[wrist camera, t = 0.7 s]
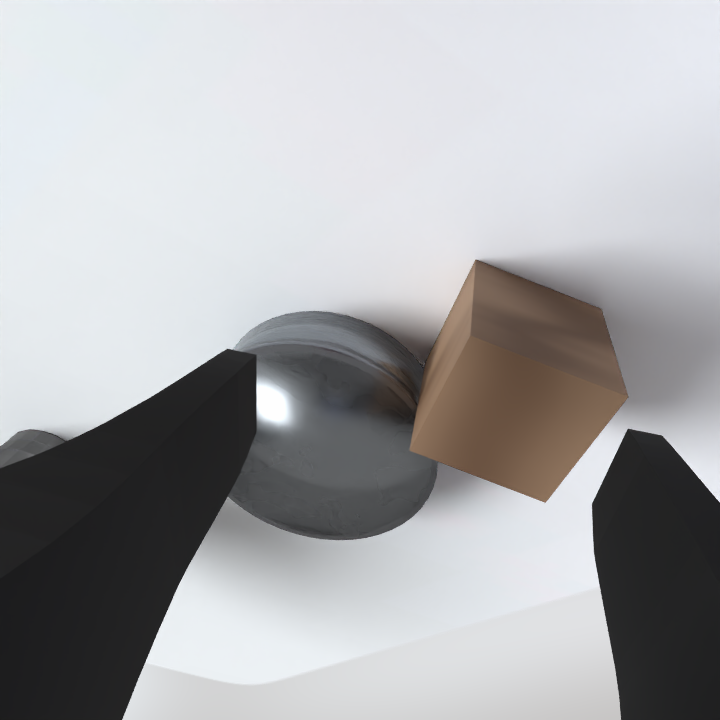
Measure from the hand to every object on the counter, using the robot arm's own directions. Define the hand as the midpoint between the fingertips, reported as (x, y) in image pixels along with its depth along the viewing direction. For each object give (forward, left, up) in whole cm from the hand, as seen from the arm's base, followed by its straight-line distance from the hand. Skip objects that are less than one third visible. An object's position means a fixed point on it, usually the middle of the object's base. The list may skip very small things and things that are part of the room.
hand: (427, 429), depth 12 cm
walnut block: (-3, +3, -10) cm, 10 cm away
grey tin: (+2, +9, -10) cm, 13 cm away
